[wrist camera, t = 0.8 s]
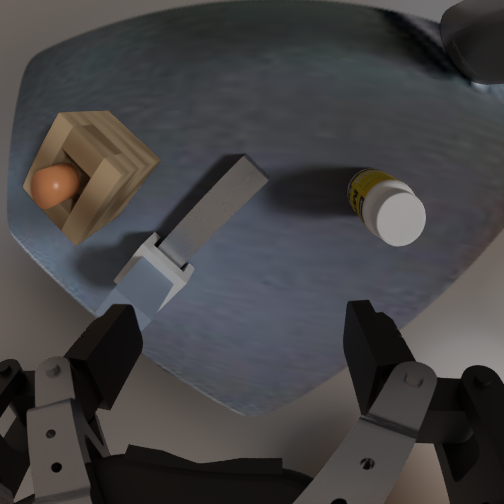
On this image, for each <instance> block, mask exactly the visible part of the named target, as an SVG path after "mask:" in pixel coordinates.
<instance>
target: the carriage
mask: <svg viewBox="0 0 504 504" xmlns="http://www.w3.org/2000/svg"><path fill="white" fill-rule="evenodd" d="M159 238H160V236H159V235H158V234H157V233H156V232H154V233H153V234H152V235H151V236H150V237H149V238H148V239H147V240H146V241H145V242H144V243H143V244H142V245H141V246H140V248H139V249H138V250H137V251H136V253H135V254H134V255H133V256H132V258H131V259H130V260H129V261H128V263H127V264H126V265H125V266H124V268H123V269H122V270H121V272H120V273H119V274H118V275H117V277H116V278H115V279H114V282H115V283H116V284H117V285H116V287H115V288H114V289H113V290H112V292H111V293H110V294H109V296H108V297H107V298H106V299H105V301H104V302H103V303H102V305H101V306H100V307H99V309H98V310H97V311H96V313H95V314H96V315H97V316H99V317H100V316H102V315H104V313H105V312H106V311H107V310H108V309H109V307H110V306H111V305H112V304H131V305H132V306H133V307H134V310H135V313H136V317H137V321H138V324H139V328H140V331H142V330H143V329H144V328H145V327H146V326H147V325H148V324H149V323H150V322H151V321H152V320H153V318H154V317H155V315H156V313H157V312H158V311H159V310H160V309H161V308H162V307H163V306H164V305H165V304H166V303H167V302H168V301H169V300H170V299H171V298H172V297H173V296H174V295H175V294H176V293H177V292H178V291H179V290H180V289H181V288H182V287H183V286H185V285H186V284H187V282H188V280H189V278H190V276H191V275H192V273H193V271H194V269H195V268H194V267H193V266H192V265H191V264H188V265H187V266H186V267H185V268H184V269H183V270H181V269H180V268H178V267H177V266H176V265H175V264H174V263H173V262H172V261H171V260H170V259H168V258H167V257H166V256H165V255H164V254H163V253H162V252H161V251H160V250H159V249H158V248H156V247H155V246H154V244H155V243H156V242H157V241H158V240H159Z"/></svg>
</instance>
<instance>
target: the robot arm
mask: <svg viewBox="0 0 504 504" xmlns="http://www.w3.org/2000/svg"><path fill="white" fill-rule="evenodd" d="M440 31H441V37H442V41H443V44H444V47H445V49H446V51H447V53H448V55H449V56H450V58H451V60H452V61H453V63H454V64H455V65H456V66H457V68H458V69H459V70H460V71H461V72H462V73H463V74H464V75H466V76H467V77H468V78H470V79H471V80H473V81H475V82H477V83H480V84H485V85H490V84H504V0H463V1H462V2H460V3H458V4H456V5H454V6H452V7H450V8H449V9H448V10H446V11H445V13H444V14H443V16H442V19H441V23H440ZM142 347H143V339H142V335H141V331H140V328H139V324H138V321H137V317H136V313H135V310H134V307H133V306H132V305H131V304H112V305H111V306H110V307H109V309H108V310H107V311H106V312H105V313H104V315H102V316H100V317H99V318H97V319H96V320H94V321H93V322H92V323H91V324H90V325H89V326H88V327H87V329H86V331H84V332H83V333H82V334H81V337H79V338H78V339H77V341H76V342H75V343H74V344H73V345H72V347H71V348H70V349H69V350H68V352H67V353H66V354H65V356H63V357H60V356H59V357H58V356H57V357H51V358H48V359H46V360H44V361H43V362H42V363H40V364H39V366H38V367H37V368H36V371H23V370H22V368H21V366H20V364H19V362H18V361H17V360H14V359H7V360H4V361H2V362H0V417H1V416H2V414H3V413H4V411H5V410H6V408H7V407H8V405H9V406H10V408H11V409H12V411H13V412H14V414H15V415H16V418H15V420H14V422H13V423H12V425H11V426H10V428H9V430H8V432H7V433H6V435H5V437H4V438H3V437H2V436H1V435H0V504H383V503H384V501H385V499H386V498H387V496H388V494H389V493H390V491H391V489H392V487H393V486H394V484H395V482H396V480H397V478H398V476H399V474H400V472H401V471H402V469H403V467H404V465H405V462H406V460H407V459H408V457H409V454H410V452H411V450H412V448H413V446H414V444H415V443H433V444H434V447H435V450H436V453H437V456H438V460H439V463H440V466H441V470H442V474H443V477H444V481H445V485H446V489H447V493H448V497H449V501H450V504H504V384H503V382H502V381H501V379H500V377H499V376H498V375H497V373H496V372H495V371H493V370H492V369H490V368H488V367H486V366H481V365H474V366H471V367H468V368H467V369H466V370H465V371H464V372H463V374H462V377H461V379H454V378H453V379H452V378H439V377H437V376H436V374H435V372H434V371H433V369H431V368H430V367H429V366H427V365H425V364H423V363H420V362H416V360H415V359H414V357H413V355H412V353H411V351H410V349H409V348H408V346H407V344H406V342H405V340H404V339H403V338H402V335H401V333H400V332H399V330H397V326H396V325H395V323H394V321H393V320H392V319H391V318H390V317H389V316H387V315H386V314H384V313H383V312H378V313H376V312H375V310H374V308H373V307H372V305H371V303H370V301H369V300H357V301H348V303H347V308H346V318H345V327H344V335H343V348H344V354H345V357H346V360H347V364H348V367H349V371H350V374H351V378H352V381H353V385H354V389H355V392H356V396H357V400H358V403H359V407H360V411H361V415H362V416H361V417H360V418H359V420H358V421H357V422H356V424H355V425H354V427H353V428H352V430H351V431H350V432H349V434H348V436H347V437H346V438H345V440H344V441H343V442H342V444H341V445H340V446H339V448H338V449H337V451H336V452H335V453H334V454H333V456H332V457H331V459H330V460H329V461H328V462H327V464H326V465H325V466H324V467H323V469H322V470H321V471H320V472H319V474H318V475H317V476H316V477H315V478H312V477H310V476H308V475H306V474H303V473H300V472H297V471H294V470H290V469H284V468H282V458H239V459H232V460H226V461H218V462H210V463H195V462H192V461H189V460H186V459H184V458H181V457H178V456H175V455H173V454H170V453H168V452H165V451H162V450H156V449H150V448H145V447H139V446H134V445H130V444H129V446H128V448H127V451H126V453H125V454H119V455H112V456H111V454H110V452H109V449H108V447H107V443H106V441H105V438H104V434H103V431H102V428H101V425H100V422H99V419H98V416H97V414H96V413H95V412H96V410H97V409H98V408H101V409H106V410H111V408H112V406H113V404H114V402H115V400H116V398H117V396H118V394H119V393H120V391H121V389H122V387H123V385H124V383H125V381H126V379H127V377H128V376H129V374H130V372H131V370H132V368H133V366H134V365H135V362H136V361H137V359H138V357H139V355H140V354H141V352H142ZM30 465H31V473H32V480H33V486H34V492H35V493H34V494H32V495H30V496H28V497H26V498H24V499H22V500H20V501H18V502H16V503H14V498H15V495H16V493H17V491H18V489H19V486H20V484H21V482H22V480H23V478H24V476H25V474H26V472H27V470H28V468H29V466H30Z"/></svg>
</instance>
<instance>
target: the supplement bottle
mask: <svg viewBox="0 0 504 504" xmlns="http://www.w3.org/2000/svg"><path fill="white" fill-rule="evenodd" d="M347 196H348V201H349V203H350V205H351V207H352V208H353V210H354V211H355V212H356V214H357V215H358V216H359V218H360V219H361V220H362V221H363V223H364V224H365V225H366V227H367V228H368V229H369V231H370V232H372V233H373V234H374V235H376V236H377V237H379V238H381V239H382V240H383V241H385V242H386V243H388V244H390V245H393V246H404V245H407V244H410V243H411V242H413V241H414V240H415V239H416V238H417V237H418V236H419V235H420V234H421V232H422V230H423V228H424V225H425V220H426V215H425V209H424V206H423V204H422V203H421V201H420V200H419V199H418V198H417V197H416V196H415V195H414V193H413V191H412V190H411V189H410V188H409V187H408V186H407V185H406V184H405V183H403V182H401V181H399V180H397V179H396V178H394V177H392V176H390V175H388V174H387V173H385V172H383V171H381V170H379V169H375V168H368V169H364V170H361V171H360V172H358V173H357V174H355V175H354V177H353V178H352V179H351V181H350V183H349V186H348V191H347Z"/></svg>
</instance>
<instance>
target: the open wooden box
mask: <svg viewBox="0 0 504 504" xmlns="http://www.w3.org/2000/svg"><path fill="white" fill-rule="evenodd" d="M160 161H161V160H160V159H159V158H158V157H157V156H156V155H155V154H154V153H153V152H152V151H151V150H150V149H149V148H148V147H147V146H145V145H144V144H143V143H142V142H141V141H140V140H139V139H138V138H137V137H136V136H135V135H134V134H133V133H132V132H130V131H129V130H128V129H127V128H126V127H125V126H124V125H123V124H122V123H121V122H120V121H119V120H118V119H117V118H115V117H114V116H113V115H112V114H111V113H110V112H109V111H84V112H64V113H59V114H58V116H57V118H56V119H55V121H54V123H53V125H52V127H51V128H50V130H49V132H48V134H47V136H46V138H45V140H44V142H43V144H42V146H41V148H40V150H39V152H38V154H37V156H36V158H35V160H34V162H33V164H32V167H31V169H30V171H29V173H28V176H27V178H26V180H25V183H24V185H23V188H24V189H25V191H26V192H27V193H28V194H29V195H30V196H31V198H32V199H33V197H32V194H31V187H30V186H31V180H32V177H33V175H34V174H35V173H36V172H37V171H39V170H41V169H45V168H48V167H51V166H54V165H57V164H61V163H65V162H66V163H70V164H72V165H73V166H74V167H75V168H76V169H77V171H78V174H79V177H80V186H79V190H78V192H77V194H76V195H75V196H74V197H72V198H70V199H68V200H65V201H63V202H61V203H59V204H57V205H55V206H53V207H51V208H49V209H43V208H41V209H42V210H43V211H44V212H45V214H46V215H47V216H48V217H49V218H50V219H51V220H52V221H53V222H54V223H55V225H56V226H57V227H58V228H59V229H60V230H61V231H62V232H63V233H64V234H65V235H66V236H67V237H68V238H69V239H70V240H71V241H72V242H73V243H74V245H75V246H77V245H78V244H80V243H81V242H83V241H84V240H85V239H87V238H88V237H89V236H91V235H92V234H94V233H95V232H97V231H98V230H99V229H101V228H102V227H104V226H105V225H107V224H108V223H110V222H111V221H113V220H114V219H116V218H117V217H118V216H119V215H120V213H121V212H122V210H123V209H124V208H125V206H126V205H127V204H128V202H129V201H130V200H131V198H132V197H133V196H134V194H135V193H136V192H137V190H138V189H139V188H140V186H141V185H142V184H143V183H144V181H145V180H146V179H147V177H148V176H149V175H150V174H151V172H152V171H153V170H154V169H155V167H156V166H157V165H158V164H159V163H160Z"/></svg>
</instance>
